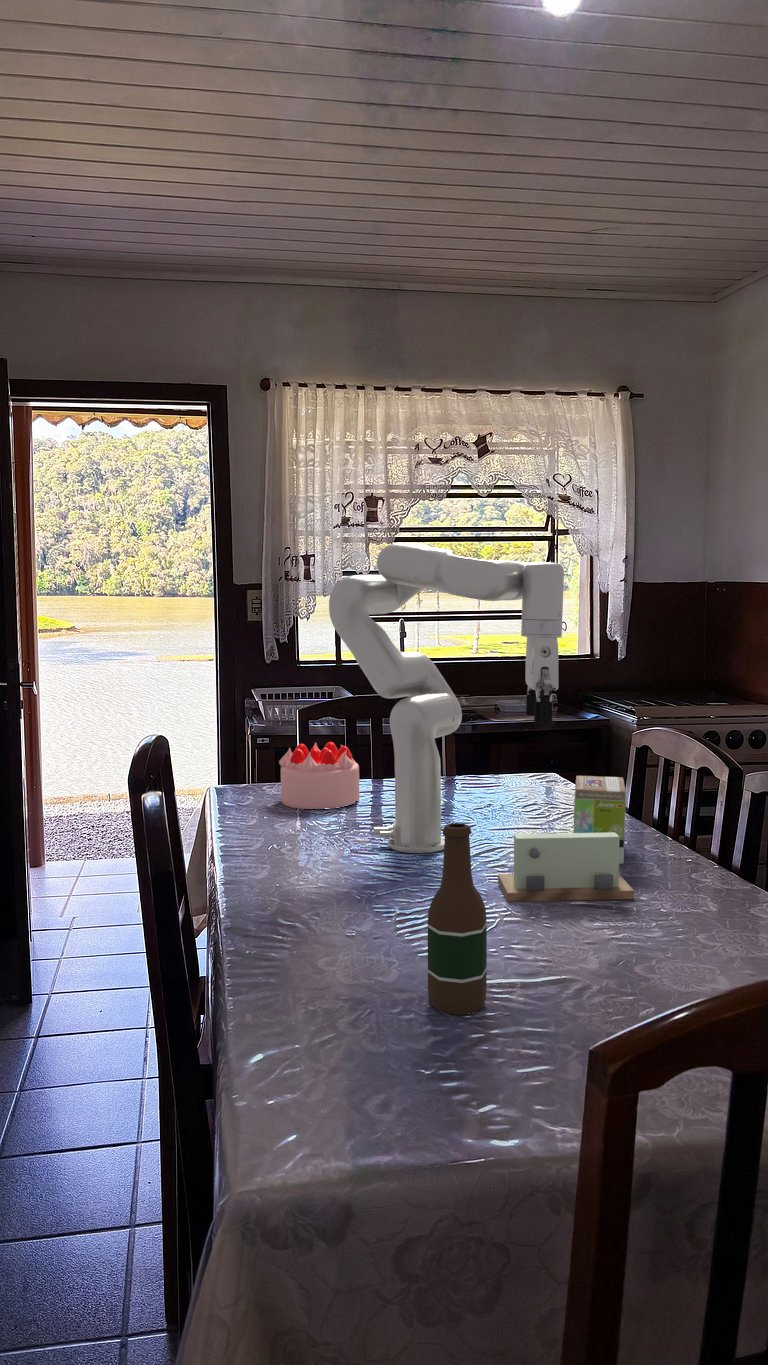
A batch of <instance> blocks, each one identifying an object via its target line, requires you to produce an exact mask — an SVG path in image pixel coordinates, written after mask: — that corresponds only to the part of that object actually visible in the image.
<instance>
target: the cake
mask: <svg viewBox="0 0 768 1365" xmlns="http://www.w3.org/2000/svg"><path fill="white" fill-rule="evenodd" d="M278 763H279V765H280V793H281V794H280V797H281V803H282V804H283V805H284V806H286V807H289V808H291V809H296V808H297V810H304V809H325V808H336V807H342V806H346V805H349V804H352V803H355V802H356V801H358V800H359V801H360V766H359V764H358V763H357V762H356V761H355V760H354V758H353V754H352V752H351V751H350V749H349V747H348V746H346V745H342V744H340V747H339V748H338V747H337V745H336V744H335V743H334V742H333V741H329V742H327V743H326V744H325V745H324V747H323V748H322V749H321V750H320V749H319V746H318V744H317V742H315V743H314V745H313V746H312V747H311V749H310V750H309V749H308V747H307V745H306V744H304V743H299V744H298V745H297V746H296V747H295V749H294V750H293V752H292V749H291V747H288V750H287V752H286V753H285V754H284V755H283V756H282V757H281V759H279V760H278ZM359 801H358V802H359Z"/></svg>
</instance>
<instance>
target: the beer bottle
mask: <svg viewBox="0 0 768 1365" xmlns="http://www.w3.org/2000/svg"><path fill="white" fill-rule="evenodd" d="M472 833H473V832H472V829H471V826H470V825H469V824H465V823H462V822H453V823H448V824H445V826H443V830H442V832H441V835H442V836H443V835H444V837H445V843H444V849H443V863H442V877H441V883H440V887H439V888H438V890H437V891H436V893H435V895H434V896H433V897H432V900H431V902H430V904H429V905H430V906H429V909H428V912H427V914H428V915H427V994H428V995H427V997H428V1004H429V1005H430V1006H431V1007H432V1006H433V1007H434V1009H435V1010H436V1009H437V1010H438V1011H437V1010H436V1011H437V1012H439V1011H440V1012H442V1013H441V1014H444V1013H449V1014H448V1015H452V1014H457V1015H456V1016H459V1015H463V1016H465V1015H464V1014H467V1015H469V1014H468V1013H471V1014H473V1013H472V1012H475V1013H478V1012H477V1011H479V1012H481V1010H482V1007H483V1006H484V1004H485V1002H486V1000H487V986H488V985H487V981H488V980H487V977H488V976H487V975H488V974H487V963H488V962H487V958H488V956H487V954H488V953H487V951H488V950H487V948H488V946H487V944H488V942H487V939H488V938H487V935H488V934H487V933H488V931H487V929H488V926H487V924H488V922H487V909H486V906H485V903H484V900H483V896H482V895H481V894H480V893H479V891H478V890H477V889H476V887H475V885H474V884H475V883H474V881H473V880H474V878H473V874H472V863H471V862H472V860H471V845H470V843H471V842H470V835H471V834H472ZM433 1007H432V1008H433ZM440 1012H439V1013H440Z"/></svg>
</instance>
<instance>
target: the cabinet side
mask: <svg viewBox="0 0 768 1365" xmlns="http://www.w3.org/2000/svg"><path fill="white" fill-rule="evenodd" d="M497 879H498V880H497V882H498V884H499V887H500V889H501V890H502V894H503V895H504V897H505V900H506V901H507V902H547V901H548V902H551V901H552V902H553V901H556V902H558V901H596V900H597V901H598V900H600V901H601V900H603V901H604V900H634V897H635V896H634V895H635V890H634V889H633V888H632V887H631V886H630V885H629V883H628V882H627V881H626V880H625V879H624V878H623V877H622V876H621V875H620V874H619V887H613V890H595V887H591V888H544V891H530V892H527V891H526V889H516V887H515V885H514V873H498V874H497Z"/></svg>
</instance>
